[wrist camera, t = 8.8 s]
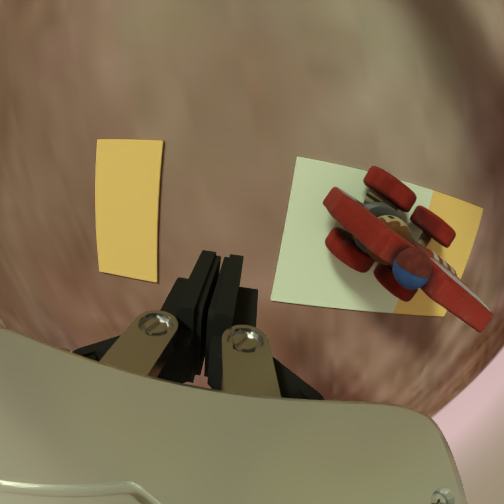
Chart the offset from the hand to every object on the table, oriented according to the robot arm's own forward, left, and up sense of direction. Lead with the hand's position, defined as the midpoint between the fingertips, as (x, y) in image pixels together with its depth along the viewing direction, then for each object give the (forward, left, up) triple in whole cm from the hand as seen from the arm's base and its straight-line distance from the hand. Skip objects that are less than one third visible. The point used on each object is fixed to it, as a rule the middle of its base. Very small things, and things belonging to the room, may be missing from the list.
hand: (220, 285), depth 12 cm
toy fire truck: (-1, +11, -11) cm, 16 cm away
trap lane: (+1, +5, -11) cm, 12 cm away
